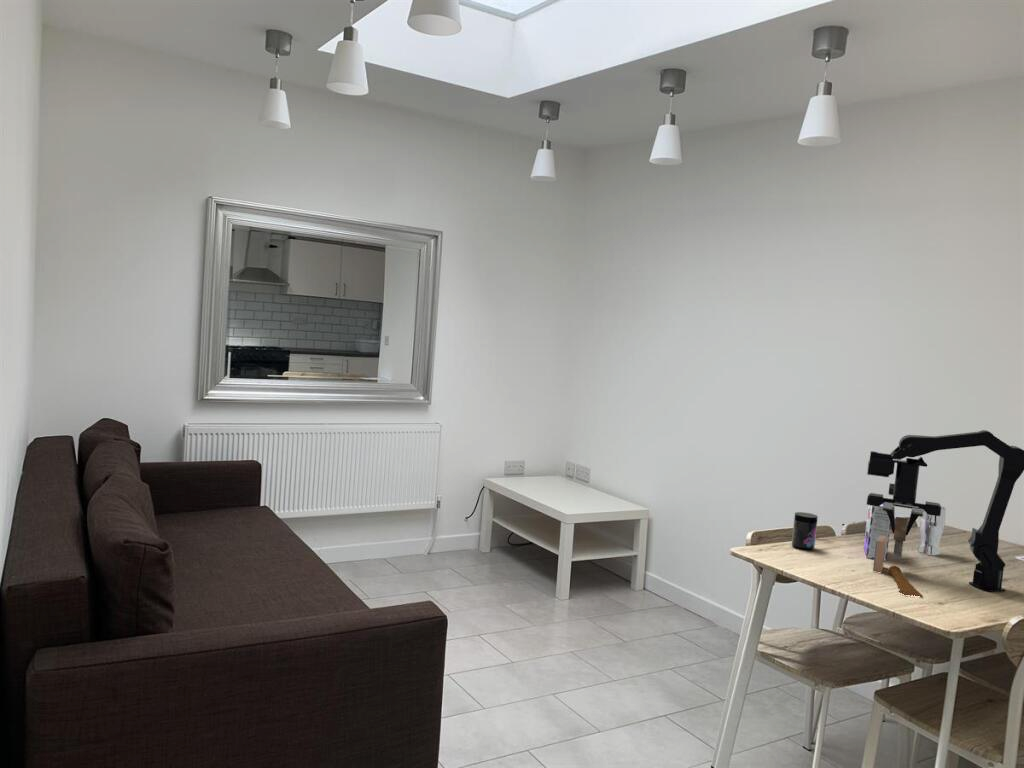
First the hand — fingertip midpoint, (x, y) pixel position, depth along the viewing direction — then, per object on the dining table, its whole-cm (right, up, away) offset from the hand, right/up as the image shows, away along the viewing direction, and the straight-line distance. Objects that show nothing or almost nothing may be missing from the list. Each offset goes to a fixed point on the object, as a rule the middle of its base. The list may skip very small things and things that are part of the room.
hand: (900, 534), depth 229 cm
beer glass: (+22, -11, +26) cm, 36 cm away
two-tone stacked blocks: (0, -6, 0) cm, 6 cm away
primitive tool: (-5, -12, -12) cm, 18 cm away
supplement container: (-20, -8, +21) cm, 30 cm away
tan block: (-5, -11, +3) cm, 12 cm away
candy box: (+2, -10, +20) cm, 22 cm away
